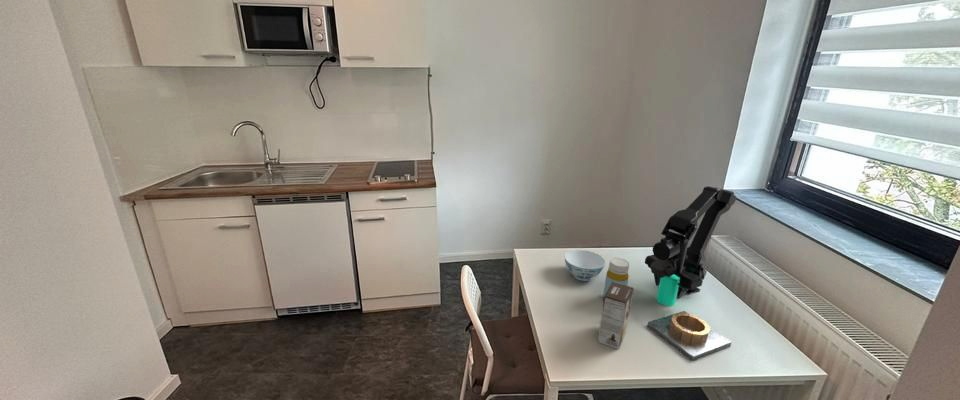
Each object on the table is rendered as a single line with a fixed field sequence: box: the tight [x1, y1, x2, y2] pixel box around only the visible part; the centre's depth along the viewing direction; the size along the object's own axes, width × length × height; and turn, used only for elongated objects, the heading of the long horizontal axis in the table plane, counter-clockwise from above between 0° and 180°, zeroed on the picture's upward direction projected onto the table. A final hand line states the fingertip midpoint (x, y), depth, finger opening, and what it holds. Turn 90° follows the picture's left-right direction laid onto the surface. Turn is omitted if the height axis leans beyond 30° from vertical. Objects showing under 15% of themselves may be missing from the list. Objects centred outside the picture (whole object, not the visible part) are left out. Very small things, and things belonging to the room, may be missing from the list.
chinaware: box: [564, 249, 606, 282], centre depth 144 cm, size 15×15×8 cm
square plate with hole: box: [646, 310, 732, 362], centre depth 113 cm, size 16×16×4 cm
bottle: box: [602, 257, 630, 299], centre depth 128 cm, size 7×7×15 cm
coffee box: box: [597, 282, 635, 350], centre depth 110 cm, size 9×6×16 cm
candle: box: [655, 274, 680, 307], centre depth 129 cm, size 6×6×12 cm
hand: (667, 292), depth 130 cm, fingers open, 8 cm apart
